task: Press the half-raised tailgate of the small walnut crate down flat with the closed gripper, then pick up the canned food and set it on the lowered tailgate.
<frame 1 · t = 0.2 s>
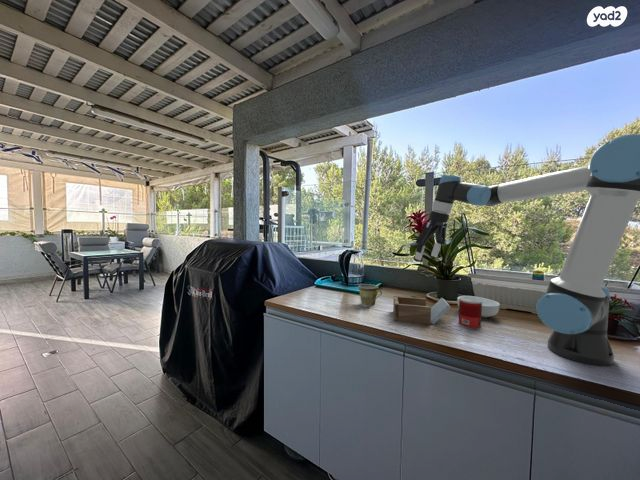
hand: (426, 257, 116), 27 cm above the worktop, tool tilted 15°, fingers open, 13 cm apart
canned food: (469, 326, 107), on the worktop
crate: (410, 319, 114), on the worktop
ceramic cup: (370, 306, 132), on the worktop
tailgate: (437, 310, 111), point 5 cm above the worktop, hinge at 50.0°
cereal bowl: (477, 315, 120), on the worktop
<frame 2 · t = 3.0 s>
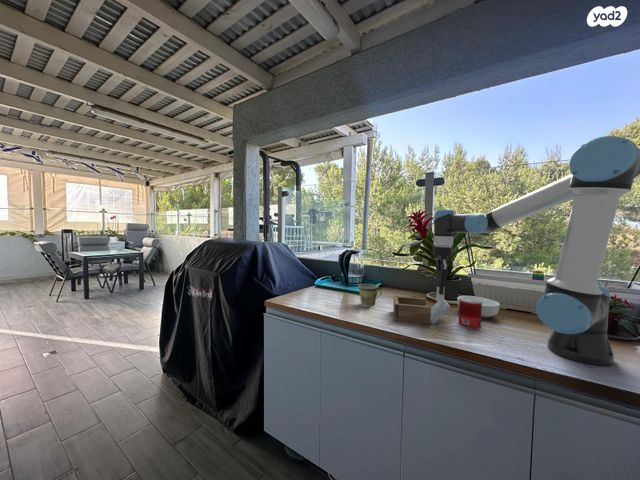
hand: (440, 301, 111), 9 cm above the worktop, tool pointing down, fingers closed
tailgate: (437, 310, 111), point 5 cm above the worktop, hinge at 50.0°, touching gripper
everything else where it was.
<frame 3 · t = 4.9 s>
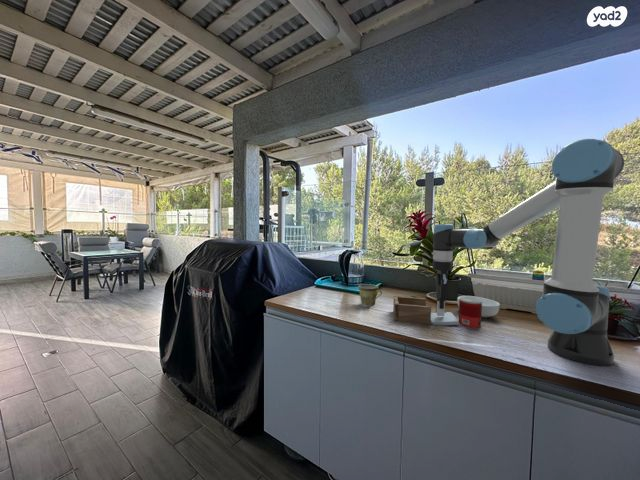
hand: (440, 315, 111), 3 cm above the worktop, tool pointing down, fingers closed
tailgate: (442, 318, 111), point 2 cm above the worktop, hinge at 8.0°
everything else where it was.
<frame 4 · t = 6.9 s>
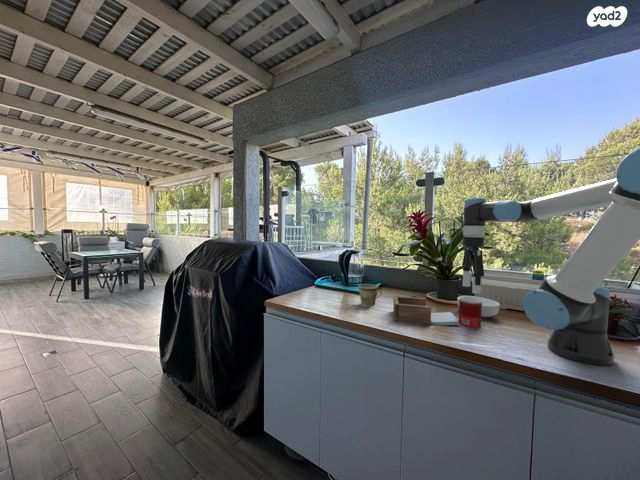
hand: (471, 289, 106), 15 cm above the worktop, tool pointing down, fingers open, 11 cm apart
nothing on the worktop moved.
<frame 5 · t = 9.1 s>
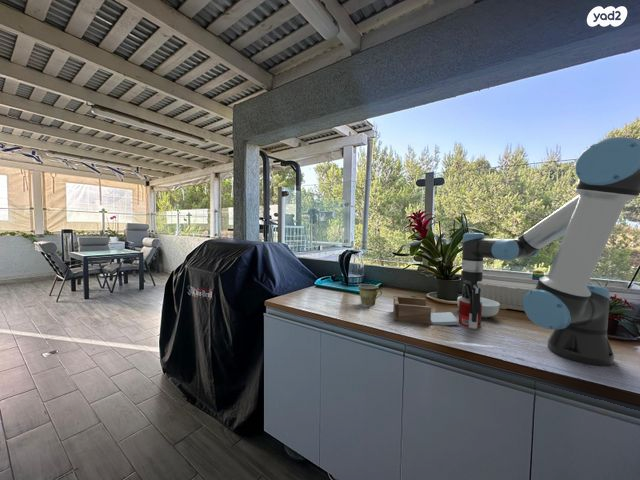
hand: (469, 325, 107), 0 cm above the worktop, tool pointing down, fingers closed on canned food, 8 cm apart
canned food: (469, 326, 107), on the worktop, touching gripper
everything else where it was.
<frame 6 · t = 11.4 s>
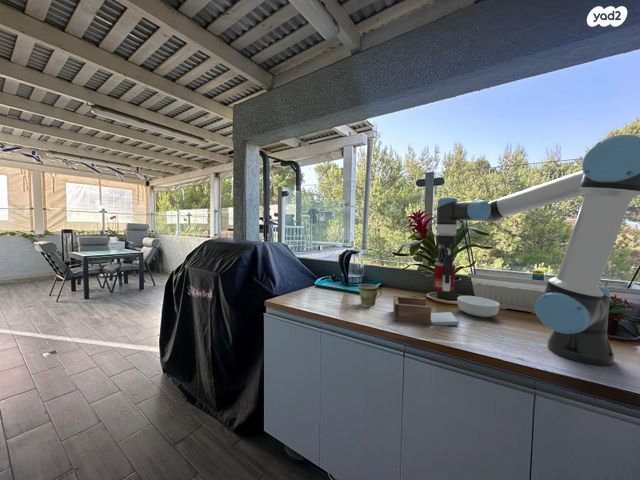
hand: (443, 288, 110), 15 cm above the worktop, tool pointing down, fingers closed on canned food, 8 cm apart
canned food: (443, 289, 110), point 14 cm above the worktop, touching gripper
everything else where it was.
when the fingers open (3 cm above the worktop, at t = 13.8 s): canned food stays where it is, resting on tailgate.
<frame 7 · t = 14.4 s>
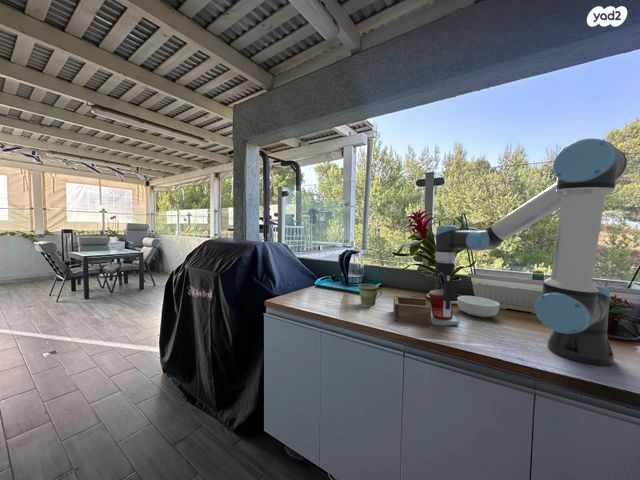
hand: (442, 311, 110), 5 cm above the worktop, tool pointing down, fingers open, 13 cm apart
canned food: (442, 317, 110), point 2 cm above the worktop, touching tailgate
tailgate: (442, 318, 111), point 2 cm above the worktop, hinge at 7.9°, touching canned food
everything else where it was.
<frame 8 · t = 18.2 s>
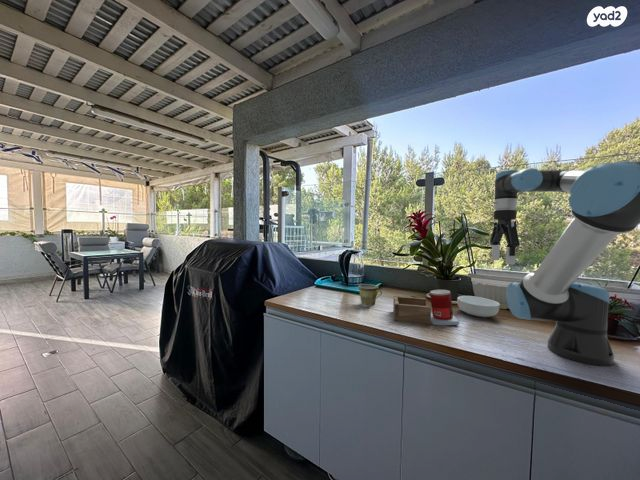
hand: (502, 262, 106), 27 cm above the worktop, tool pointing down, fingers open, 13 cm apart
nothing on the worktop moved.
at the end: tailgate at +8° (first picture: +50°); canned food inside the target area (0.6 cm from its centre), point 2.1 cm above the worktop; canned food tilted 8° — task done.
